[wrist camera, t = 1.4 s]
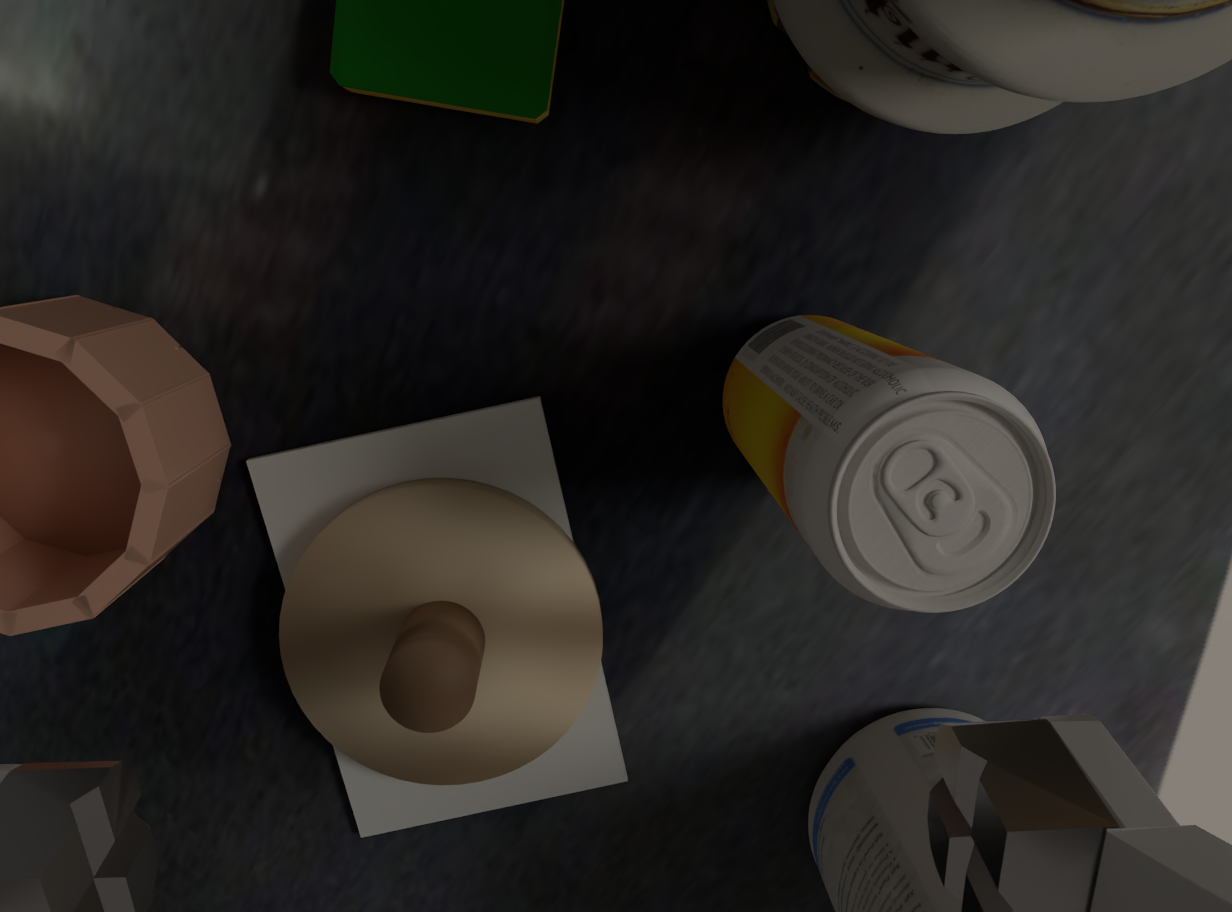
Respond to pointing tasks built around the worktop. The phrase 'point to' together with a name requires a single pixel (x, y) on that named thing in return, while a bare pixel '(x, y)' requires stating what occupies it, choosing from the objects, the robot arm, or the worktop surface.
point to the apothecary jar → (1000, 54)
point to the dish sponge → (451, 53)
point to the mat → (438, 448)
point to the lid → (442, 631)
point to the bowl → (96, 456)
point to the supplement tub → (882, 817)
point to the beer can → (892, 463)
